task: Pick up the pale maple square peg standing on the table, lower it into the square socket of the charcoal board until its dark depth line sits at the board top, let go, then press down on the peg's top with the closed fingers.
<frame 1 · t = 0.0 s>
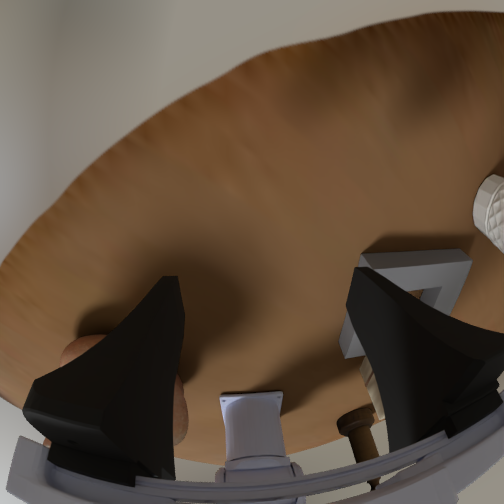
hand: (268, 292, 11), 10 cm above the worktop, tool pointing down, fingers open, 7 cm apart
socket board: (402, 296, 26), on the worktop
brown capped rod: (353, 416, 40), on the worktop
peg: (377, 357, 31), on the worktop
white cup: (488, 202, 21), on the worktop
ceramic jug: (129, 362, 28), on the worktop
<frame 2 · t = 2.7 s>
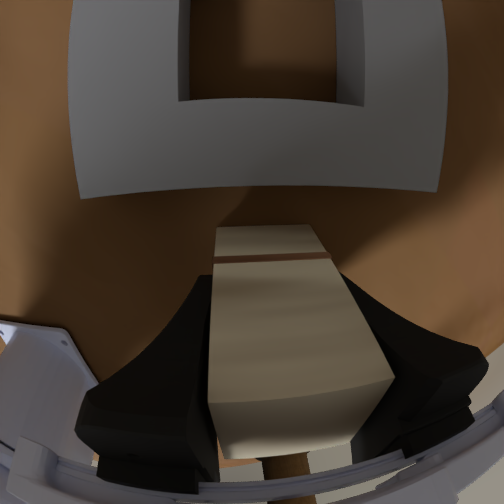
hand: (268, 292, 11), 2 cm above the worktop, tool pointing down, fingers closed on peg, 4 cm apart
socket board: (265, 34, 8), on the worktop
brown capped rod: (278, 425, 22), on the worktop
peg: (263, 265, 13), on the worktop, touching gripper
when the fingers open (3 cm above the worktop, at t = 6.4 s): peg drops 1 cm, resting in socket board.
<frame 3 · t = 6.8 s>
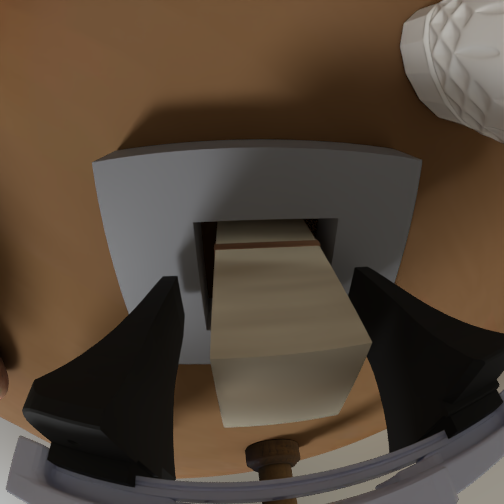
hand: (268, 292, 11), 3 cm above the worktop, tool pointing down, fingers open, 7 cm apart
socket board: (260, 251, 14), on the worktop
brown capped rod: (271, 446, 28), on the worktop
peg: (260, 255, 14), resting in socket board
white cup: (443, 64, 9), on the worktop
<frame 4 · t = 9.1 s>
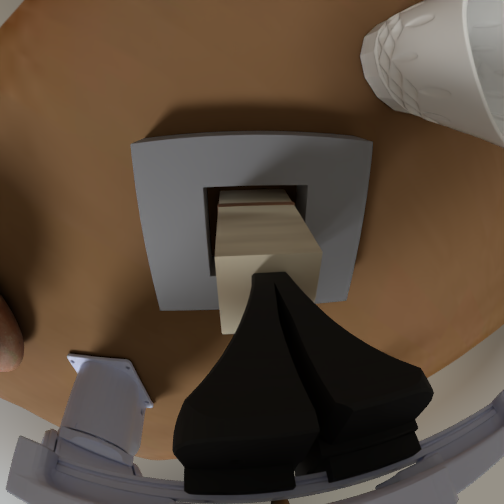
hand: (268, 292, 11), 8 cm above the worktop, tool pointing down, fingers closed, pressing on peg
socket board: (252, 216, 18), on the worktop
peg: (252, 219, 18), resting in socket board, touching gripper
white cup: (400, 67, 13), on the worktop
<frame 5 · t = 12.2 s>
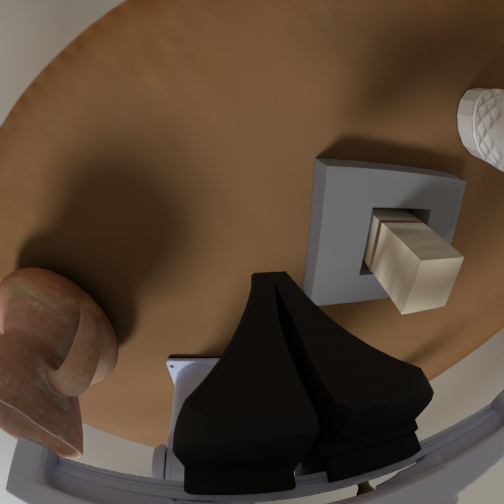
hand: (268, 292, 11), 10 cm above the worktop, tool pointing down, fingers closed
socket board: (382, 228, 21), on the worktop
peg: (381, 230, 22), resting in socket board
white cup: (476, 121, 17), on the worktop
ceramic jug: (67, 310, 24), on the worktop
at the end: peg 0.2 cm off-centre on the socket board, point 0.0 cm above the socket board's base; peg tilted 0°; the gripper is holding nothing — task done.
